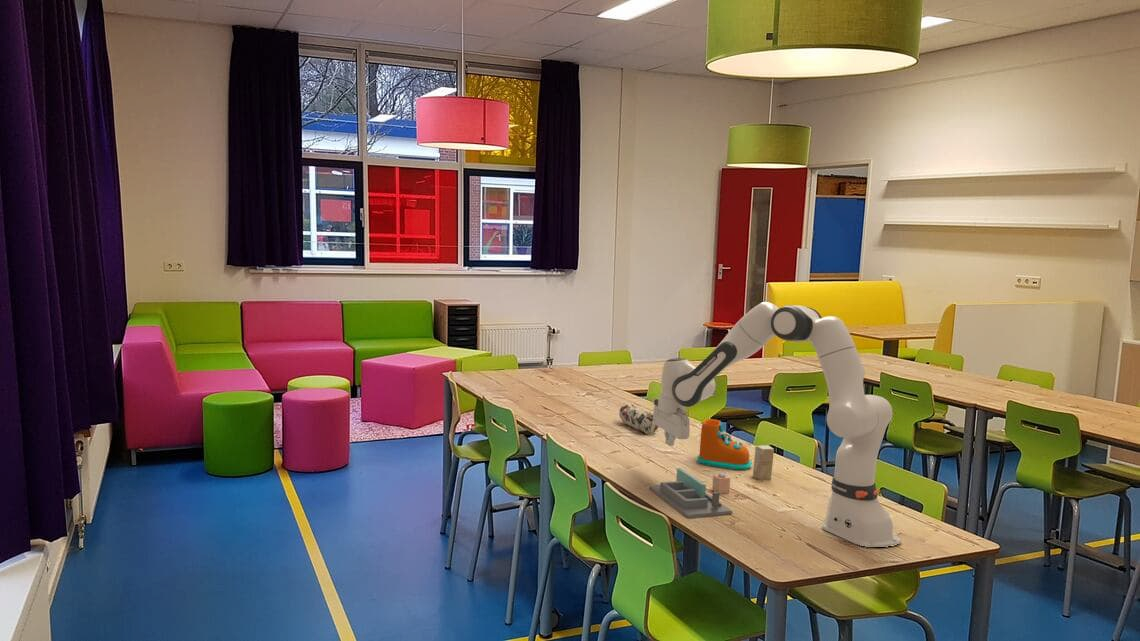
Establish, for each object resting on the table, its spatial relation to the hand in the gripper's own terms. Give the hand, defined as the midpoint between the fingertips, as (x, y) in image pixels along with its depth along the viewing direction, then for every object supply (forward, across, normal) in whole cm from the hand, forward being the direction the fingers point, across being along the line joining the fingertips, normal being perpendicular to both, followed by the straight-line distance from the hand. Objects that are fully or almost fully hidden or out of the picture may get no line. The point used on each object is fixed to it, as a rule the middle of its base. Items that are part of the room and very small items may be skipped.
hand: (669, 444), depth 265 cm
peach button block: (+12, -16, -12) cm, 23 cm away
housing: (+11, -22, +3) cm, 25 cm away
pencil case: (+13, +61, -17) cm, 65 cm away
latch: (+10, -16, 0) cm, 19 cm away
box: (+12, -7, -34) cm, 36 cm away
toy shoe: (+12, +10, -28) cm, 32 cm away
